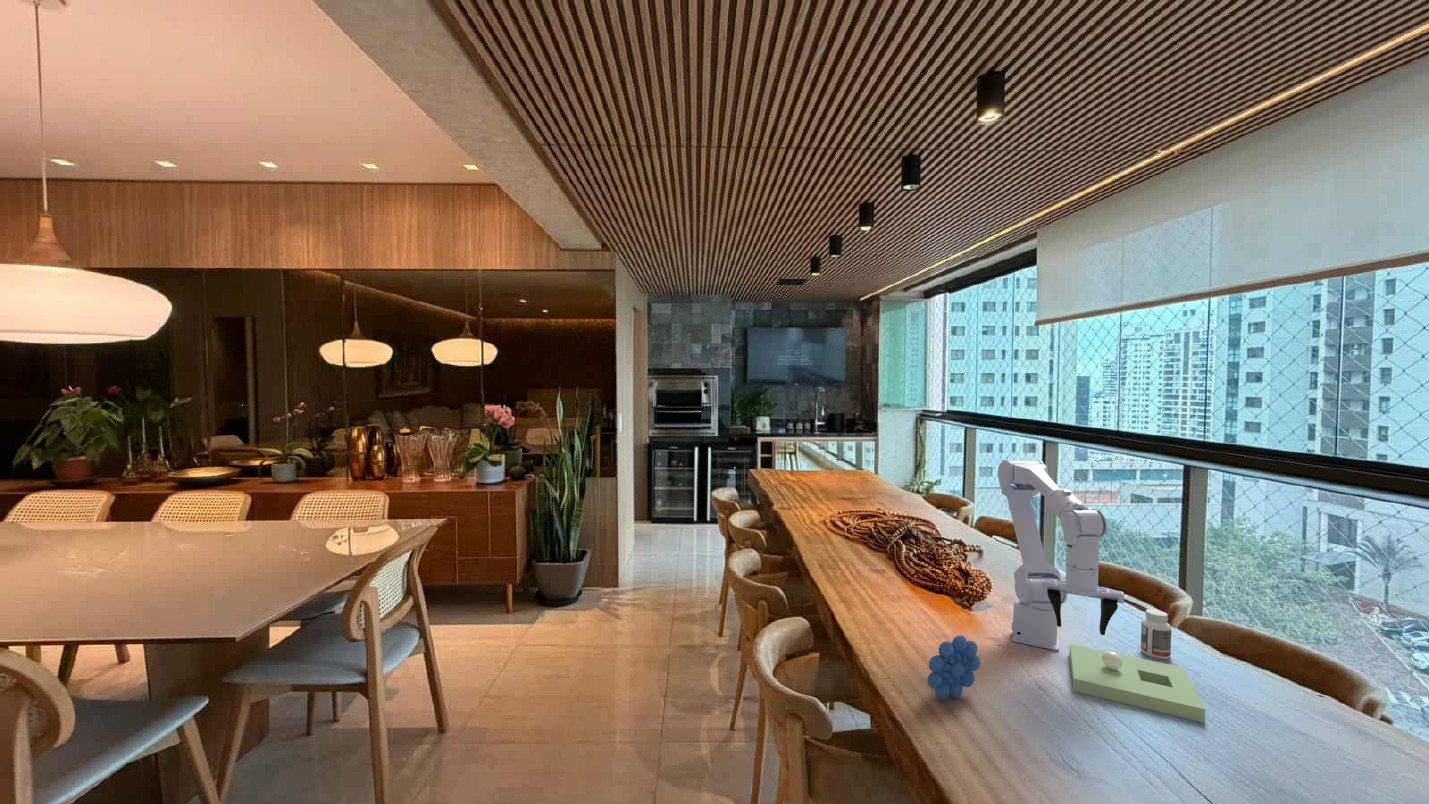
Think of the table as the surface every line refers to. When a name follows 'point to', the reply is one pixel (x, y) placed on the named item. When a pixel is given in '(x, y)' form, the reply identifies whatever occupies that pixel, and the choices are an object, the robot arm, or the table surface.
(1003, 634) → the table surface
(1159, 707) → the putting mat
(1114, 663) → the ball
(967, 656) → the grapes
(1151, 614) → the pill bottle
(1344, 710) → the table surface
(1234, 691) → the table surface
